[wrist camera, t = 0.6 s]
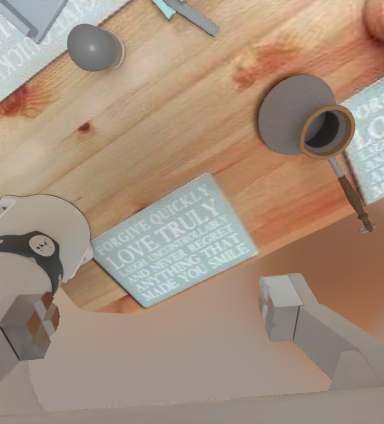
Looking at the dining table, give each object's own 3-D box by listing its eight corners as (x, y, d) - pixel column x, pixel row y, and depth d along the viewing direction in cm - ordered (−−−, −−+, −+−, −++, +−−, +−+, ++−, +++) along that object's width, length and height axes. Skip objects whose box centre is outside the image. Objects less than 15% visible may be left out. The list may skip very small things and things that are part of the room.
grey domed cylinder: (112, 76, 40) (93, 81, 31) (84, 50, 38) (57, 48, 30) (132, 50, 39) (119, 48, 30) (105, 21, 37) (82, 11, 28)
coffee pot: (240, 102, 43) (268, 123, 30) (311, 56, 40) (376, 56, 27) (293, 204, 52) (331, 254, 39) (353, 172, 49) (416, 214, 36)
